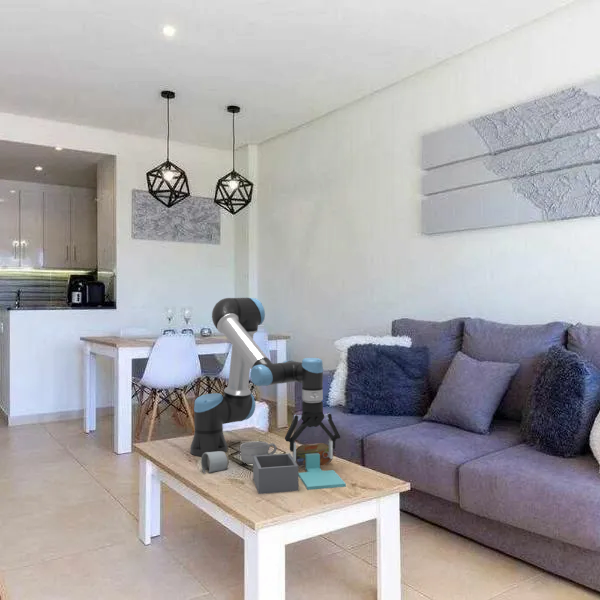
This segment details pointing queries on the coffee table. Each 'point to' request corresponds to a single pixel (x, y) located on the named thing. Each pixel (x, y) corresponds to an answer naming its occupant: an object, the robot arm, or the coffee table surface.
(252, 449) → the teacup
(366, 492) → the coffee table surface
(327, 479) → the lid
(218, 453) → the ceramic mug
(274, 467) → the tub
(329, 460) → the tin
